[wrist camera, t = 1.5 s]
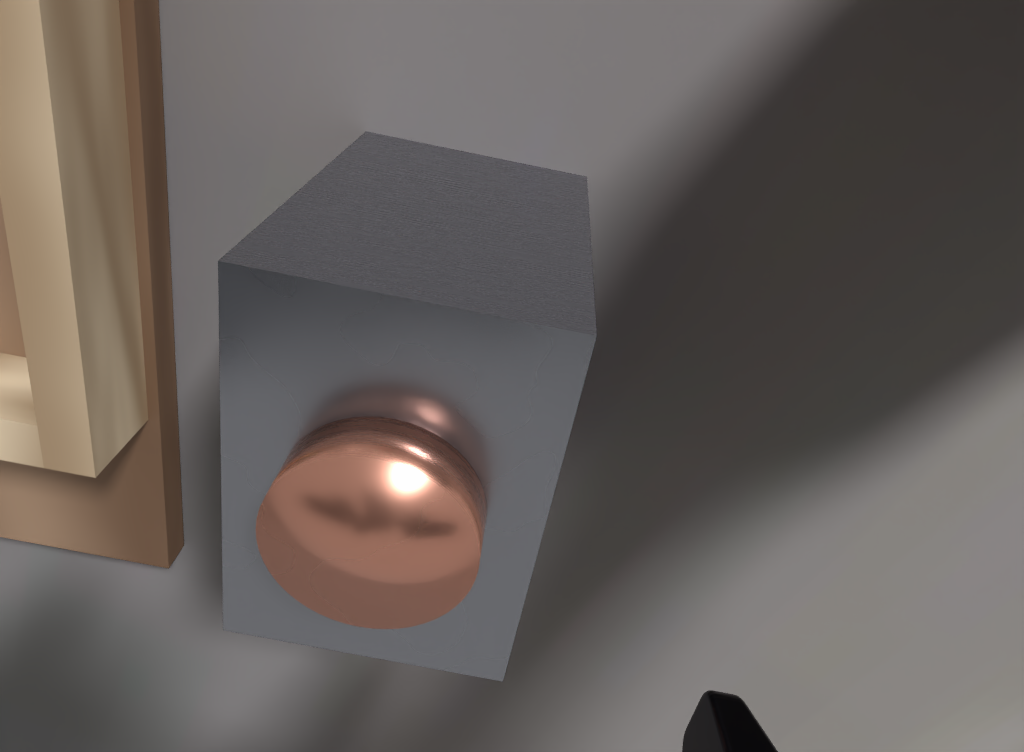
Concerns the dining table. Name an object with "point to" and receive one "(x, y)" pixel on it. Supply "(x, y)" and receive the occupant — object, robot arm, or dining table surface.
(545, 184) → the block with copper knob
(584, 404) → the dining table surface
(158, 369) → the chassis bay
